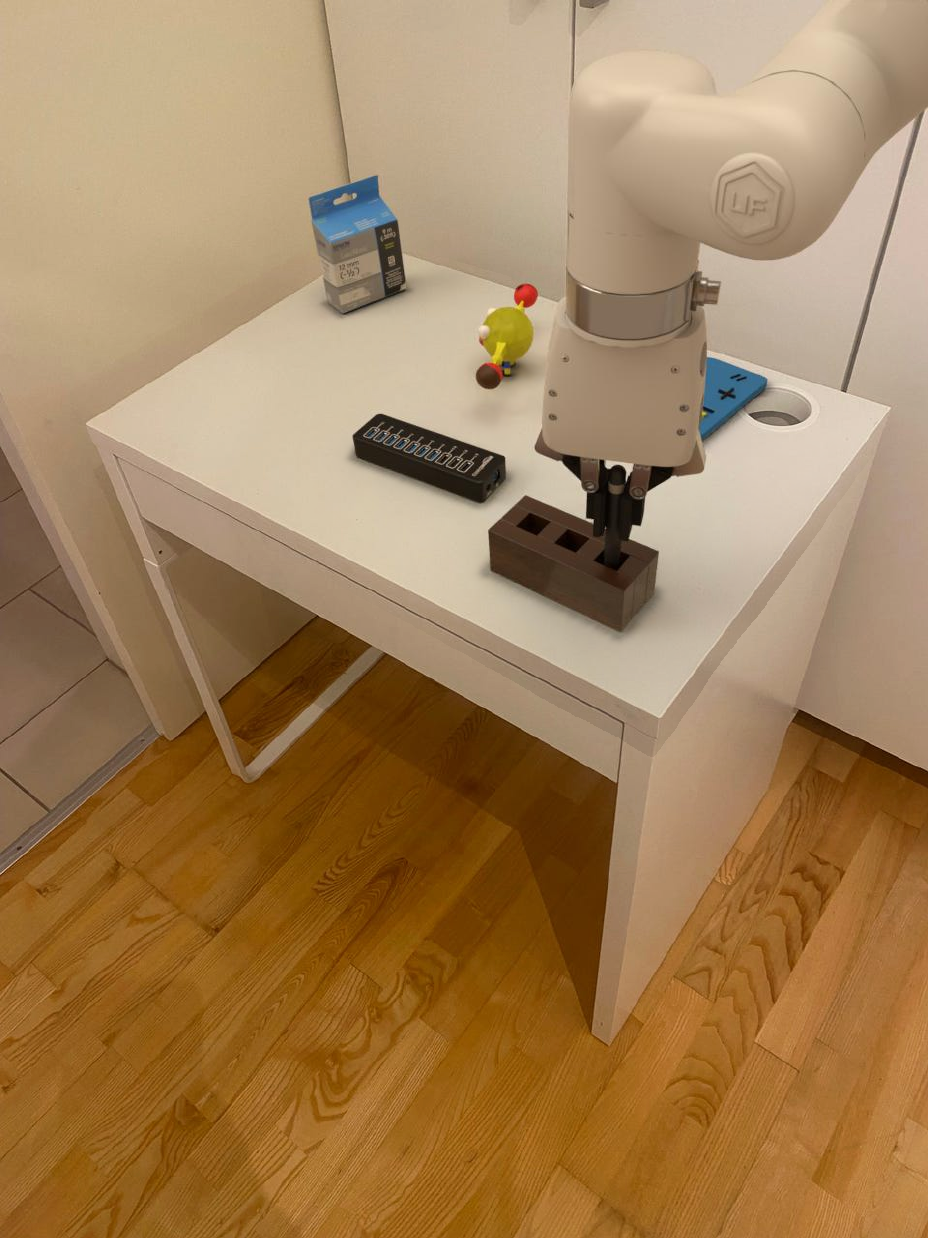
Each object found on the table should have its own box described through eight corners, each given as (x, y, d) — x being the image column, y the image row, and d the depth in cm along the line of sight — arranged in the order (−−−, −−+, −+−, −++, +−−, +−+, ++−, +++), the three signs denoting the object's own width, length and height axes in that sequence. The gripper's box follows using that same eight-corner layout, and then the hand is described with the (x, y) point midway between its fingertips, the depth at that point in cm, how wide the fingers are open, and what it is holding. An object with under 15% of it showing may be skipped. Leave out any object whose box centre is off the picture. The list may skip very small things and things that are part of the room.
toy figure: (502, 323, 106) (500, 264, 101) (551, 327, 104) (551, 268, 99) (458, 417, 94) (453, 356, 89) (512, 423, 93) (511, 362, 88)
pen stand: (526, 535, 81) (525, 494, 78) (654, 592, 76) (659, 551, 73) (490, 570, 79) (487, 529, 75) (620, 632, 73) (624, 591, 70)
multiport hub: (381, 431, 93) (378, 411, 91) (508, 476, 87) (507, 456, 85) (353, 455, 91) (350, 435, 89) (482, 504, 85) (480, 483, 83)
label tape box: (342, 315, 109) (323, 208, 100) (325, 301, 111) (306, 195, 102) (407, 290, 112) (395, 184, 103) (390, 277, 114) (376, 172, 105)
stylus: (618, 595, 76) (628, 462, 66) (615, 606, 75) (625, 473, 66) (603, 592, 76) (610, 459, 67) (600, 603, 75) (607, 470, 66)
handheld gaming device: (770, 375, 93) (681, 449, 86) (768, 385, 94) (680, 459, 87) (698, 348, 97) (607, 416, 90) (697, 358, 98) (607, 426, 91)
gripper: (769, 273, 57) (727, 508, 71) (518, 254, 61) (523, 481, 74) (758, 338, 52) (715, 578, 66) (486, 313, 56) (498, 545, 70)
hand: (614, 525), depth 70 cm, fingers closed on stylus, 1 cm apart
